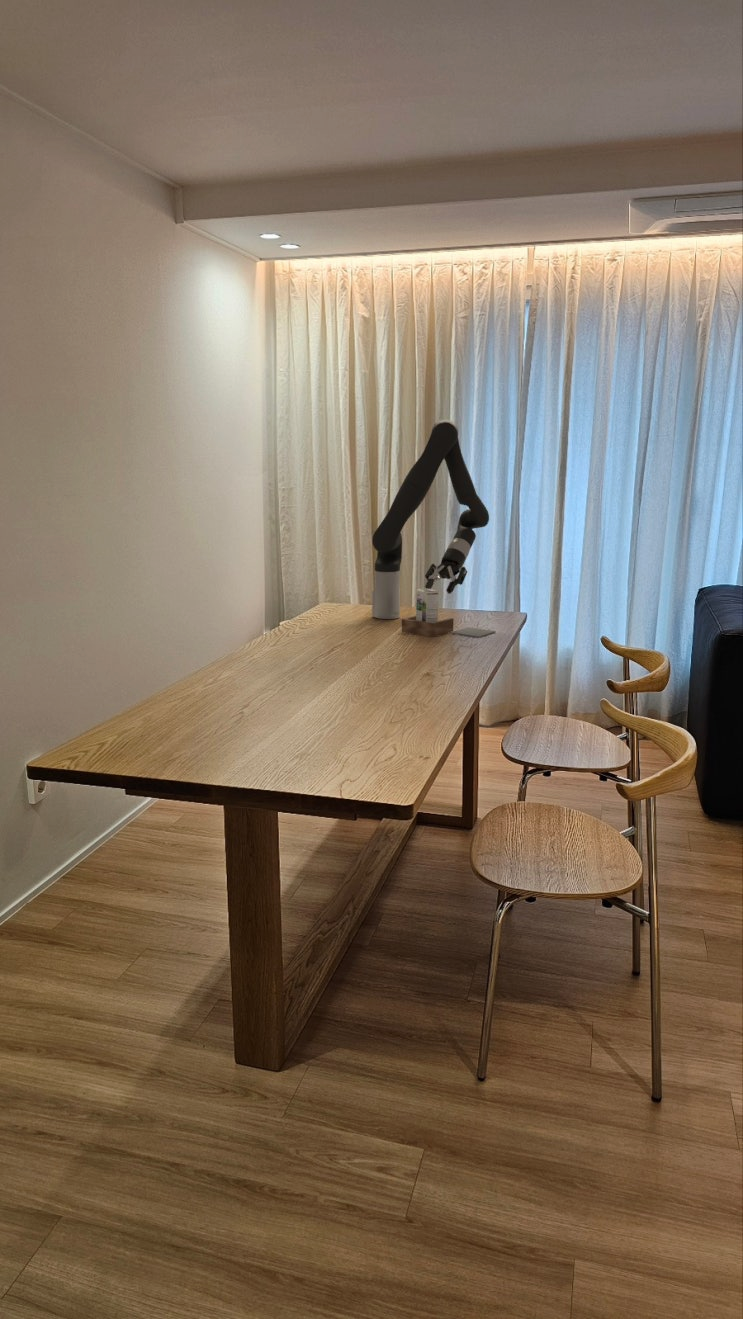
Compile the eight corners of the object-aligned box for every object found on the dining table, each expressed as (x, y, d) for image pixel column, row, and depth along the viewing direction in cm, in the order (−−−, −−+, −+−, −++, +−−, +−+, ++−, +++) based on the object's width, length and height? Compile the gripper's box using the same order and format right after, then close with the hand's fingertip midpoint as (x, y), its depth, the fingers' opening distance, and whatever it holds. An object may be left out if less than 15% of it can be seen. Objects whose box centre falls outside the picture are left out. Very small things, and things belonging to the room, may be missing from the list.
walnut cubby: (401, 632, 314) (401, 619, 313) (421, 626, 323) (421, 613, 322) (433, 637, 306) (433, 623, 305) (453, 631, 315) (453, 618, 314)
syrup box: (415, 631, 315) (415, 589, 312) (430, 629, 318) (430, 587, 314) (422, 634, 310) (423, 591, 307) (438, 632, 313) (439, 590, 309)
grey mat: (450, 633, 311) (450, 632, 311) (467, 628, 320) (467, 627, 320) (478, 638, 305) (478, 636, 304) (495, 632, 313) (495, 631, 313)
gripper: (435, 545, 323) (416, 582, 317) (470, 548, 315) (451, 586, 309) (443, 559, 329) (424, 595, 323) (477, 562, 320) (459, 599, 314)
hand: (437, 591), depth 316 cm, fingers open, 8 cm apart
